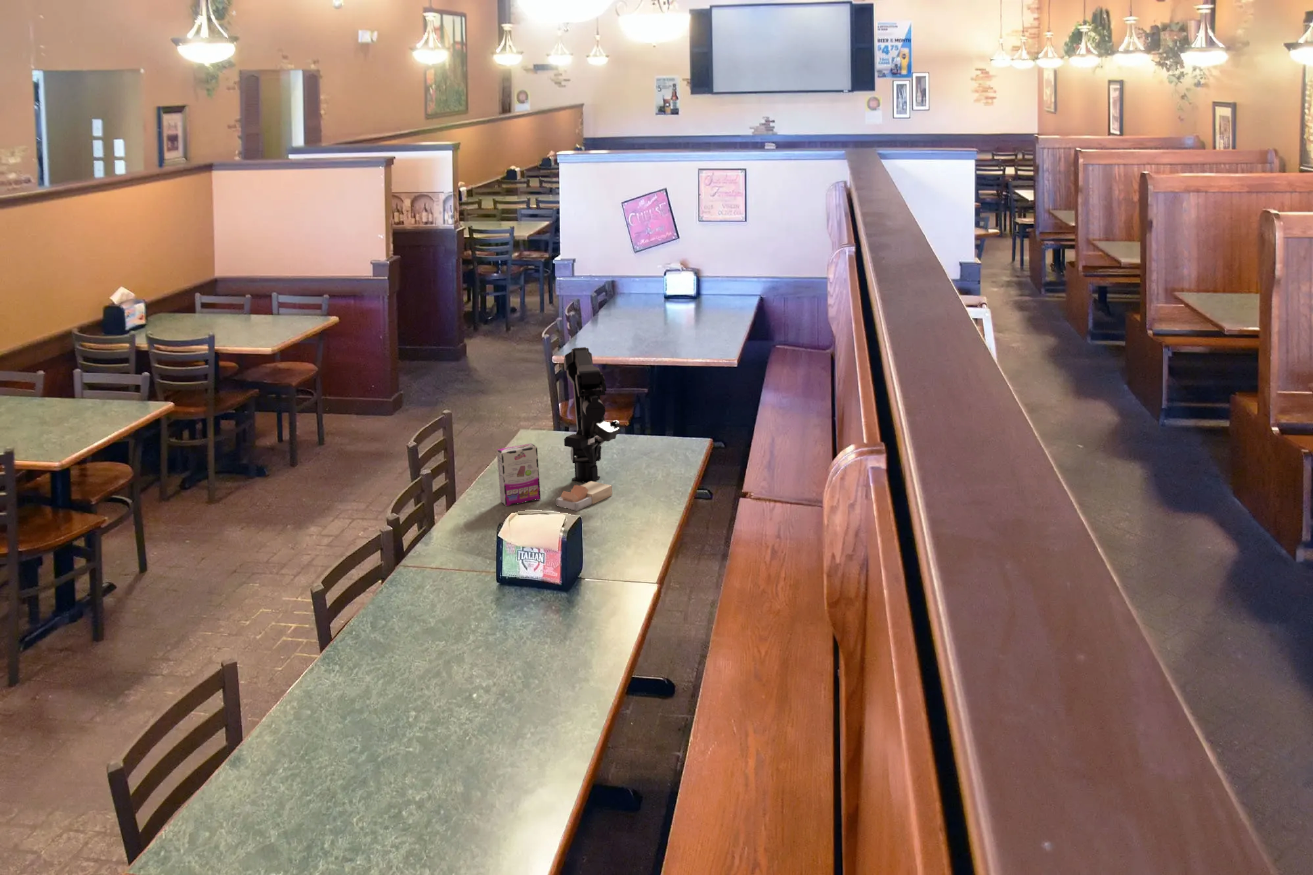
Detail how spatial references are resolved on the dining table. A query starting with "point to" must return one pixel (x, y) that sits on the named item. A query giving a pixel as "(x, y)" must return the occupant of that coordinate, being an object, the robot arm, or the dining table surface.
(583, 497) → the tile rear
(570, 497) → the tile front
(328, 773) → the dining table surface
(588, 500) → the tray
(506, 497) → the candy bar box
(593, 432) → the robot arm
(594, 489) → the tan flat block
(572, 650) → the dining table surface
